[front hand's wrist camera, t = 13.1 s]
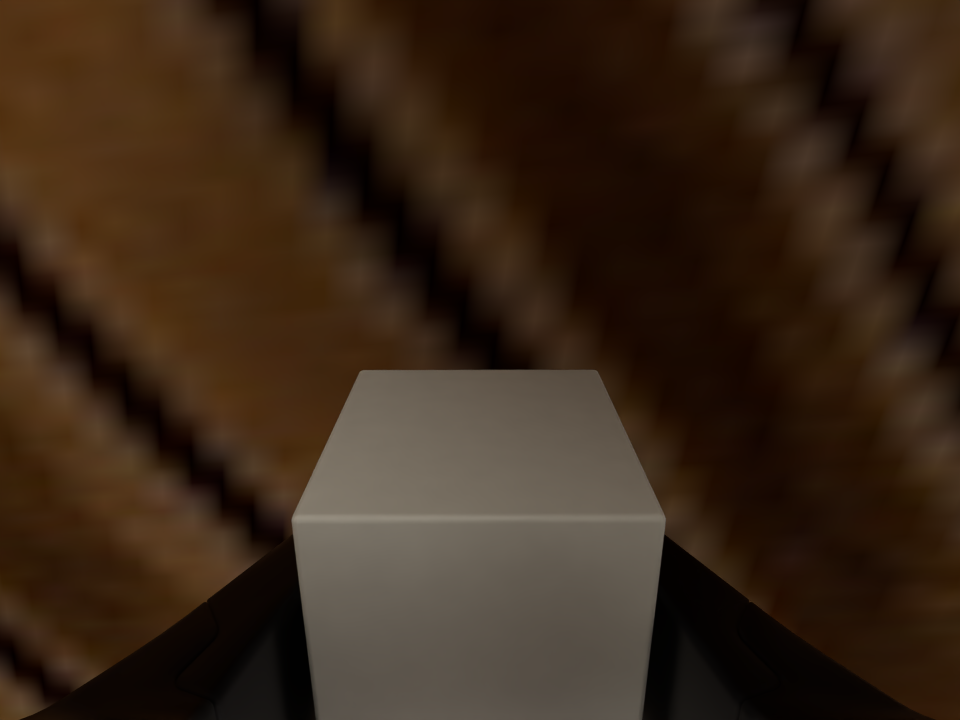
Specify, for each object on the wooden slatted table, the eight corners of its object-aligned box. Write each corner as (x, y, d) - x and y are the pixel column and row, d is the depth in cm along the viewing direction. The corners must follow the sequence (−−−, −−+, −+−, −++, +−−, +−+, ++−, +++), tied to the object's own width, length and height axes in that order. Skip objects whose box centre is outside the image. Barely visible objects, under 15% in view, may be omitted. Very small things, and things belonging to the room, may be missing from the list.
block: (598, 367, 12) (668, 516, 7) (582, 594, 13) (632, 822, 9) (359, 368, 12) (287, 518, 7) (375, 595, 13) (326, 823, 9)
